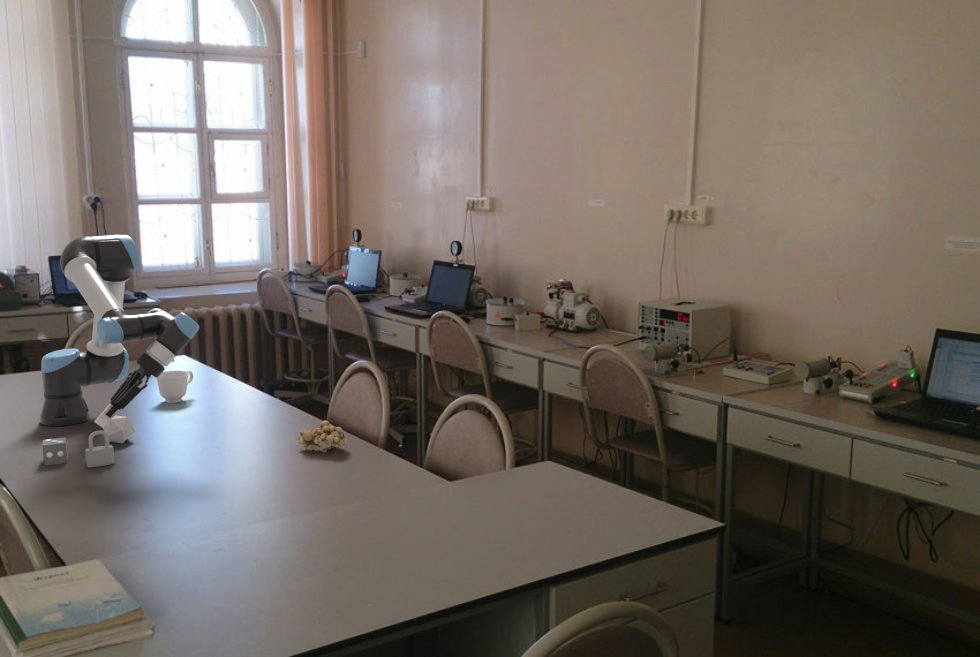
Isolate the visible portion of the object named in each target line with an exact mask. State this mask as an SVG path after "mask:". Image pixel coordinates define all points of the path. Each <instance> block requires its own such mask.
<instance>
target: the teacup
mask: <svg viewBox="0 0 980 657" xmlns="http://www.w3.org/2000/svg"><path fill="white" fill-rule="evenodd" d="M155 378H156V377H155ZM193 379H194V373H193V372H192V371H191V370H168V371H163V372H162V373H161V374H160V376H159V377H157V378H156V382H157V385H158V386H157V387H158V391H159V395H160V397H161V398H163V399H165V403H167V404H176V403H180V402H182V401H183V397H184V396H186V394H187V391H188V385H189V384H190V383H191V382H192V381H193Z"/></svg>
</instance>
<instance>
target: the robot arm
mask: <svg viewBox="0 0 980 657" xmlns="http://www.w3.org/2000/svg"><path fill="white" fill-rule="evenodd" d="M59 263H60V270H61V272H62V274H63V275H64V276H65V278H66V279H67V280H68V281H69V282H71V283H73V284H74V285H75V287H76V288H77V291H79V294H80V295H81V296H82V298H83V299H84V300H85V302H86V304H87V305H88V307H89V309H91V311H92V313H93V322H92V334H91V335H92V336H91V340H90V341H88V342H87V343H86V350H85V351H80V350H79V349H78V348H75V347H74V348H63V349H58V350H54V351H52V352H49V353H47V354H45V355H44V356H43V357H42V358H41V367H40V368H41V369H40V371H41V377H42V386H43V389H42V390H43V398H44V400H43V404H42V408H41V413H40V416H39V420H40V424H41V425H43V426H48V427H62V426H69V425H76V424H77V425H78V424H81V423H84V422H86V421H88V420H90V419H91V411H90V409H89V406H88V404H87V403H86V400H85V398H84V396H83V395H84V394H83V387H88V386H94V385H100V384H101V385H102V384H108V383H109V384H110V383H114V382H118V381H122V380H123V379H124V380H123V382H122V383H121V385H120V386H119V387H118V388H117V390H116V391H115V393H113V395H112V397H110V401H109V402H110V403H109V404H107V406H106V407H105V408H104V410H102V412H101V413H100V414H99V415H98V416H97V418H96V419H94V421H93V422H94V424H96V425H98V426H99V427H100V428H102V429H103V427H104V426H105V425H106V424H107V423H108V422H109V421H110V420H111V419H112V418H113V417H114V416H115V415H116V414H117V412H118V411H119V410H124V409H125V408H126V406H128V405H129V404H130V403H131V402H132V401H133V400H134V399H135V398H136V397H137V396H138V395H139V394H140V393H141V392H142V391H143V390H144V389H146V388H147V387H148V382H149V379H150V378H151V377H154V378H157V377H159V376H160V374H161V373H162V372H165V367H169V365H170V364H171V363H174V362H175V358H176V357H177V356H178V355H179V354H180V352H182V350H184V348H185V347H186V346H187V345H188V344H189V343H190V341H191V340H193V339H194V337H195V336H196V334H197V332H198V331H199V330H200V325H199V324H198V323H197V322H196V321H195V320H194V319H192V318H191V317H190V316H189V315H188V314H186V313H184V312H179V313H178V314H176V315H175V316H174V315H172V314H171V313H170V312H168V311H166V310H164V309H161V308H155V307H154V308H152V309H150V310H149V311H146V313H140V314H130V315H128V314H127V313H126V311H125V309H123V306H124V296H125V287H126V286H125V285H126V282H127V281H128V280H130V279H131V277H132V276H131V275H132V271H133V272H134V271H136V270H138V268H139V267H140V253H139V250H138V247H137V244H136V242H135V241H134V239H133V238H132V237H131V236H130V235H127V234H114V235H113V234H111V235H110V234H109V235H93V236H80V237H77V238H74V239H72V240H71V241H69V243H68V244H66V246H65V247H64V248H63V250H62V252H61V255H60V260H59ZM151 339H155V340H153V341H152V343H150V345H149V346H147V348H146V350H145V351H146V352H143V353H142V354H141V355H140V357H139V358H138V359H137V360H136V364H137V365H138V366H139V367H138V368H137V369H136V370H134V371H133V372H129V368H130V360H129V358H130V356H129V353H128V351H127V349H126V348H125V347H124V345H123V343H129V342H134V341H142V340H143V341H144V340H151ZM128 372H129V373H128ZM125 377H126V378H125Z"/></svg>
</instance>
